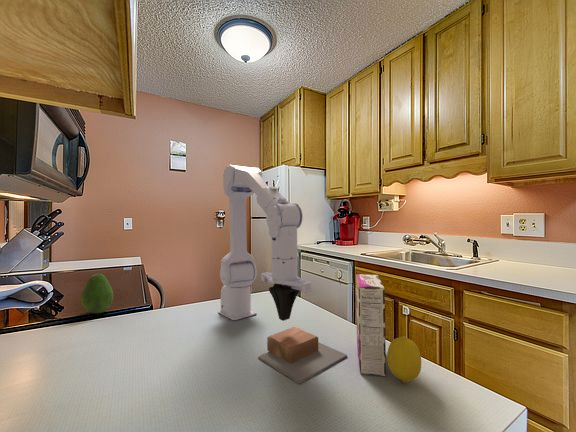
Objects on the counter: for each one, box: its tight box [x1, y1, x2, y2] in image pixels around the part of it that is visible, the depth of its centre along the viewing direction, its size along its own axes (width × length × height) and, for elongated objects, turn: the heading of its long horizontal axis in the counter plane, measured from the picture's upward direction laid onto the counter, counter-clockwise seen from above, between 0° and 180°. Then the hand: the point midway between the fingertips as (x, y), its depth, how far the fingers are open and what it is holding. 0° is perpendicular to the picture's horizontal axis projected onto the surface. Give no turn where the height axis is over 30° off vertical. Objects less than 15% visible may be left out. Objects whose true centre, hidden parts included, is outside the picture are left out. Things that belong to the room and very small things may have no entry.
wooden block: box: [266, 326, 319, 364], centre depth 59 cm, size 3×8×8 cm
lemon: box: [386, 335, 422, 383], centre depth 48 cm, size 6×6×8 cm
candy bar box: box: [355, 273, 387, 377], centre depth 56 cm, size 11×5×16 cm, turn 168°
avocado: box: [80, 273, 114, 314], centre depth 84 cm, size 8×8×12 cm
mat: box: [257, 341, 348, 385], centre depth 57 cm, size 12×14×1 cm
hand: (284, 318), depth 61 cm, fingers closed
